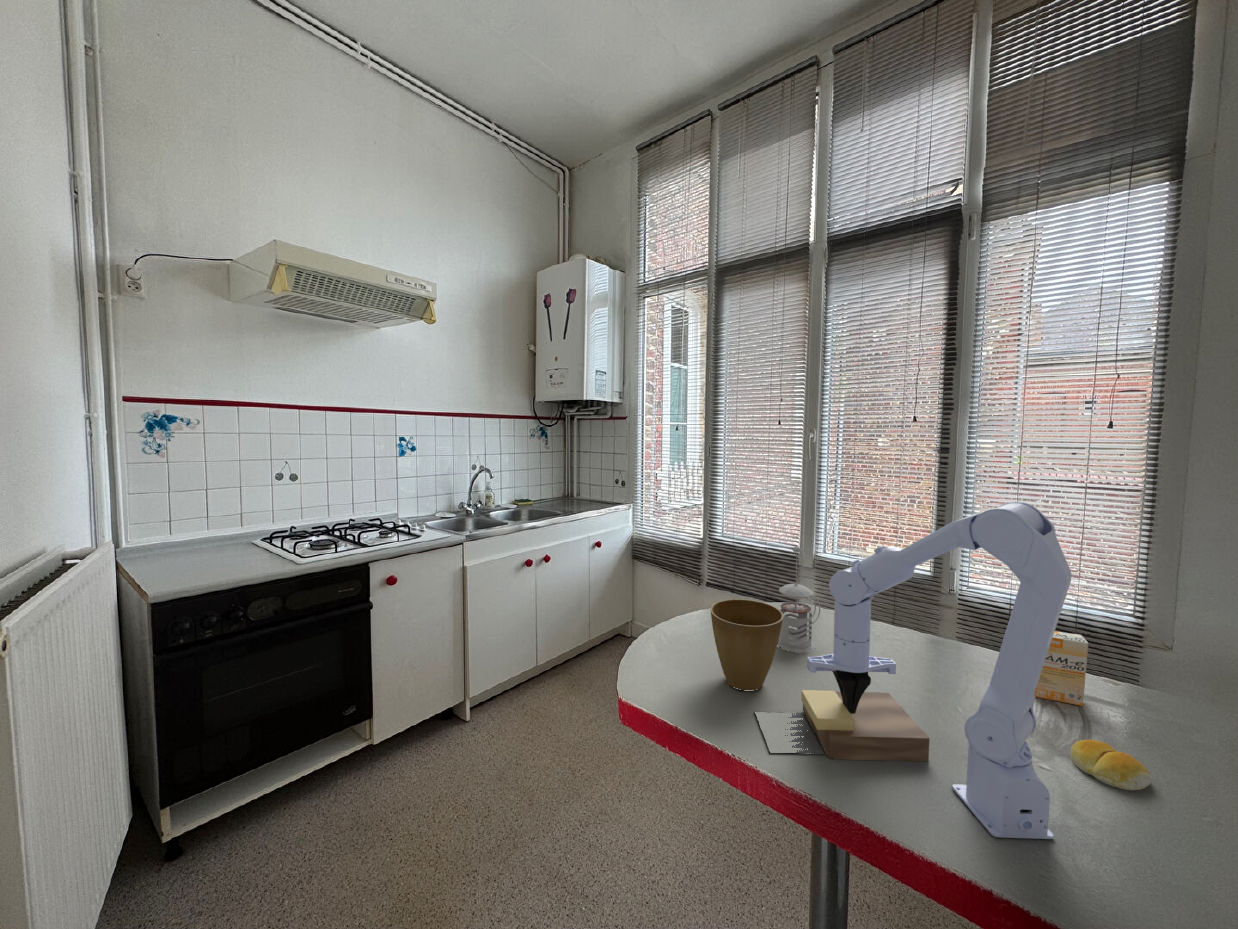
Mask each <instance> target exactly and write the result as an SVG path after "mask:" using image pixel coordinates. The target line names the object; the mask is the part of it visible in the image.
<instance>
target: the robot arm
mask: <svg viewBox="0 0 1238 929" xmlns="http://www.w3.org/2000/svg"><path fill="white" fill-rule="evenodd" d="M958 548H960V549H966V550H972V551H977V550H979V549H980V548H982V549H983V550H984V551H985V552H987V553H988V554H990V555H991V556H992V557H993V558H996V559H997V560H999V561H1000V562H1002V563H1003V564H1004V565H1006V566H1007V567H1008V569H1009V570H1010V571H1011V572H1012V573H1013V574H1014V576H1016V578H1017V579H1018V580H1019V582H1020V583H1019V586H1018V590H1017V594H1016V597H1015V599H1014V603H1013V607H1012V609H1011V613H1010V616H1009V620H1008V623H1007V626H1006V629H1005V633H1004V636H1003V640H1002V643H1001V646H1000V648H999V652H998V656H997V660H996V663H995V666H994V668H993V673H992V676H991V678H990V682H989V685H988V687H987V689H986V691H985V693H984V694H983V696H982V699H981V700H980V703H979V706H978V708H977V710H976V711H975V712H974V713H973V714H971V715H970V716H969V717H968V718H967V719H966V720H965V722H964V734H965V737H966V739H967V741H968V744H967V747H968V748H967V764H966V784H957V783H954V784H952V785H951V786H952V787H951V788H952V790H953V791H954V792H955V794H957V796H958V797H959V798H960V799H961V800H962V802H963V803H964V804H965V805H966V806H967V807H968V809H969V810H970V811H971V812H972V814H973V815H974V816H975V817H976V818H977V819H978V821H979V822H980V823H981V824H982V825H983V827H984V828H985V829H986V830H987V831H988V833H990V835H991V836H993V837H994V838H1002V839H1003V838H1007V839H1008V838H1010V839H1011V838H1012V839H1034V840H1035V839H1036V840H1038V839H1039V840H1040V839H1042V840H1044V839H1045V840H1054V839H1055V835H1054V833H1053V832H1052V830H1051V831H1050V829H1049V817H1050V801H1051V796H1050V793H1049V789H1048V787H1047V786H1046V785H1045V783H1044V782H1043V781H1042V780H1041V779H1040V777H1039V776H1038V774H1037V772H1036V771H1035V768H1034V764H1033V760H1032V759H1033V753H1032V752H1031V748H1030V747H1029V744H1028V742H1027V740H1028V738H1029V737H1030V736H1031V735H1032V734H1033V733H1034V732H1035V730H1036V727H1037V720H1036V719H1037V718H1036V715H1035V712H1034V706H1035V705H1034V704H1035V701H1036V697H1035V695H1034V693H1035V689H1036V686H1037V683H1038V680H1039V677H1040V674H1041V671H1042V668H1043V665H1044V662H1045V659H1046V656H1047V653H1048V650H1049V647H1050V644H1051V641H1052V637H1053V634H1054V631H1056V628H1057V625H1058V622H1059V618H1060V617H1061V616H1060V615H1061V613H1062V610H1063V606H1064V605H1065V604H1064V603H1065V601H1066V598H1067V595H1068V591H1069V589H1070V586H1071V582H1072V571H1071V568H1070V566H1069V564H1068V561H1067V559H1066V556H1065V554H1064V552H1063V550H1062V547H1061V545H1060V542H1059V540H1058V538H1057V534H1056V529H1055V525H1054V524H1053V523H1052V522H1051V521H1050V520H1049V518H1047V517H1046V516H1045V515H1044V514H1043V513H1042V512H1041V511H1040V510H1039V509H1038V508H1037V507H1035V506H1034V505H1033V504H1030V503H1027V502H1024V501H1009V502H1006V503H1003V504H1000V505H999V506H998V507H995V508H990V509H987V510H984V511H981V512H977V513H975V514H971V515H968V516H966V517H963V518H960V519H957V520H955V521H951V522H950V523H948V524H946V525H944V526H943V527H940V528H939V529H937V530H935V531H933V532H931V533H930V534H928V535H926V536H924V537H922V538H920V539H919V540H917V541H915V542H913V543H911V544H909V545H908V546H905V547H904V548H902V547H897V546H893V545H888V546H887V547H885V546H884V545H881V546H879V547H877V548H874V549H873V552H874V553H873V554H872V555H869V556H868V557H866V558H863V559H862V560H860V559H856V560H854V561H852V562H851V566H850V567H848V568H845V569H838V570H837V571H836V572H835V573H834V574H833V575H832V576H831V577H830V578H829V583H828V588H829V591H830V595H831V596H832V598H834V612H833V615H834V616H833V618H834V620H833V650H832V652H833V653H829V654H824V655H818V656H806V668H807V670H808V671H809V673H810V674H811V673H812V674H814V673H817V672H832V674H833V675H834V678H835V680H836V682H837V683H836V684H837V685H838V689H839V692H841V696H842V700H843V704H844V705H845V707H846V708H847V710H848V711H849V713H850V714H855V713H856V709H857V706H858V703H859V701H860V698H861V696H862V695H863V693H864V692H866V690H867V689H868V687H869V686H870V685H871V682H872V678H871V677H870V675H869V673H888V674H889V675H897V663H896V662H895V661H894V660H893V659H892V658H891V657H890V658H887V657H877V656H871V655H870V650H871V648H870V647H871V645H870V644H871V624H872V623H871V619H872V617H871V616H872V613H871V612H872V610H871V609H872V598H873V597H874V596H875V595H877V594H880V593H882V592H884V591H886V590H889V589H890V588H893V587H896V586H897V585H900V584H902V583H904V582H906V581H909V580H910V579H912V578H913V577H914V574H915V573H914V572H915V569H916V566H918V565H921V564H922V563H925V562H927V561H930V560H932V559H934V558H937V557H939V556H941V555H943V554H947V553H948V552H950V551H952V550H955V549H958Z"/></svg>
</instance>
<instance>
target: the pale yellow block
mask: <svg viewBox="0 0 1238 929" xmlns="http://www.w3.org/2000/svg"><path fill="white" fill-rule="evenodd" d="M836 692H837V691H835V690H814V689H812V690H811V689H801V697H800V698H801V703H802V705H803V704H804V706H805V708H806V710H807V712H808V714H809V715H810V717H811V719H812V721H813V723H814V725H815V727H816V728H817V730H848V731H854V719H853V717H852V716H851V714H850V713H849V711H848V710H847V708H846V707H845V705H844V704H843V702H842V701H841V699H840V698H839V696H838V695H837V694H836Z"/></svg>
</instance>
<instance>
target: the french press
mask: <svg viewBox="0 0 1238 929" xmlns="http://www.w3.org/2000/svg"><path fill="white" fill-rule="evenodd" d="M792 551H793V552H794V553H796V556H795V559H796V560H795V564H796V565H795V583H789V584H785V585H783V586H782V587H779V589H778V590H779V593H780V594H781V595H782V596H785V597H788V598H792V599H806V600H807V601H809V602H811V601H812V599H813V602H814V610H813V613H812V612H811V611H812V608H811V607H810V606H809V605H808V604H805V603H804V602H803V603H802V602H799V601H797V600H795V601H786V602H785V601H784V602H782V603H781V604H780V609H779V610H780V611H781V612H782V613H783V621H782V627H781V632H780V636H779V641H778V646H779V647H781V648H782V649H781V648H780V649H781V650H783V651H785V650H789V651H791V652H790V653H793V652H795V654H808V653H811V652H814V651H815V650H816V649H817V647H816V644H815V643H814V642H813V641H812V636H813V635H812V634H813V632H812V631H813V630H812V629H813V624H815V623H816V622H817V621H818V619H819V618H820V617H819V616H820V614H821V603H820V601H819V599H818V597H816V596H814V592H813V590H811V589H810V588H808V587H806V586H805V585H802V584H799V583H798V582H797V581H798V579H797V578H798V553H801V552H802V549H801V547H800V546H794V547H793V548H792ZM809 598H810V599H809ZM816 601H817V603H818V614H817V617H816V618H815V620H814V621H813V618H814V616H815V614H816V611H817V610H816V609H817V603H816ZM785 613H787V614H785ZM808 613H809V614H808ZM795 628H796V629H795ZM779 647H778V648H779ZM789 651H788V652H789Z"/></svg>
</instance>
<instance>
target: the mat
mask: <svg viewBox="0 0 1238 929" xmlns="http://www.w3.org/2000/svg"><path fill="white" fill-rule="evenodd" d="M795 712H796V715H795V713H794V715H793V713H792V717H790V718H803V720H802V719H801V720H797V722H796V721H795V722H794V721H793V723H792V721H791V724H798V726H797V725H796V726H797V727H791V728H792V729H791V728H790V730H797V731H798V730H799V731H800V730H801V731H802V732H801V731H800V732H799V731H798V732H796V733H795V732H794V733H795V734H794V733H793V734H794V735H793V734H792V733H791V734H790V735H791V736H800V738H799V737H798V738H797V739H796V738H795V739H794V740H792V741H791V742H797V743H798V742H800V743H799V744H796V745H795V746H796V747H795V746H794V745H793V746H792V748H793V747H794V748H802V750H803V749H804V750H803V751H802V750H801V749H800V750H801V751H800V750H799V752H798V750H797V752H796V753H809V754H810V753H811V754H824V755H825V751H823V748H822V746H821V744H819V743H820V742H819V740H817V739H818V738H816V735H815V733H814V731H813V729H812V727H811V726H810V724H809V722H808V720H807V718H805V717H806V716H804V713H803V711H802V712H801V711H799V713H798V712H797V711H795ZM800 712H801V713H800ZM788 718H789V717H788ZM787 724H788V723H787ZM789 724H790V723H789ZM799 724H800V725H801V724H802V725H803V726H802V725H801V726H800V725H799ZM785 730H786V729H785ZM787 730H788V729H787ZM807 730H808V731H807ZM785 736H786V735H785ZM787 736H788V735H787ZM801 736H804V737H803V738H802V737H801ZM789 742H790V741H789ZM802 742H803V743H802ZM801 744H802V745H801ZM807 748H808V750H807ZM805 749H806V750H805Z"/></svg>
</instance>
